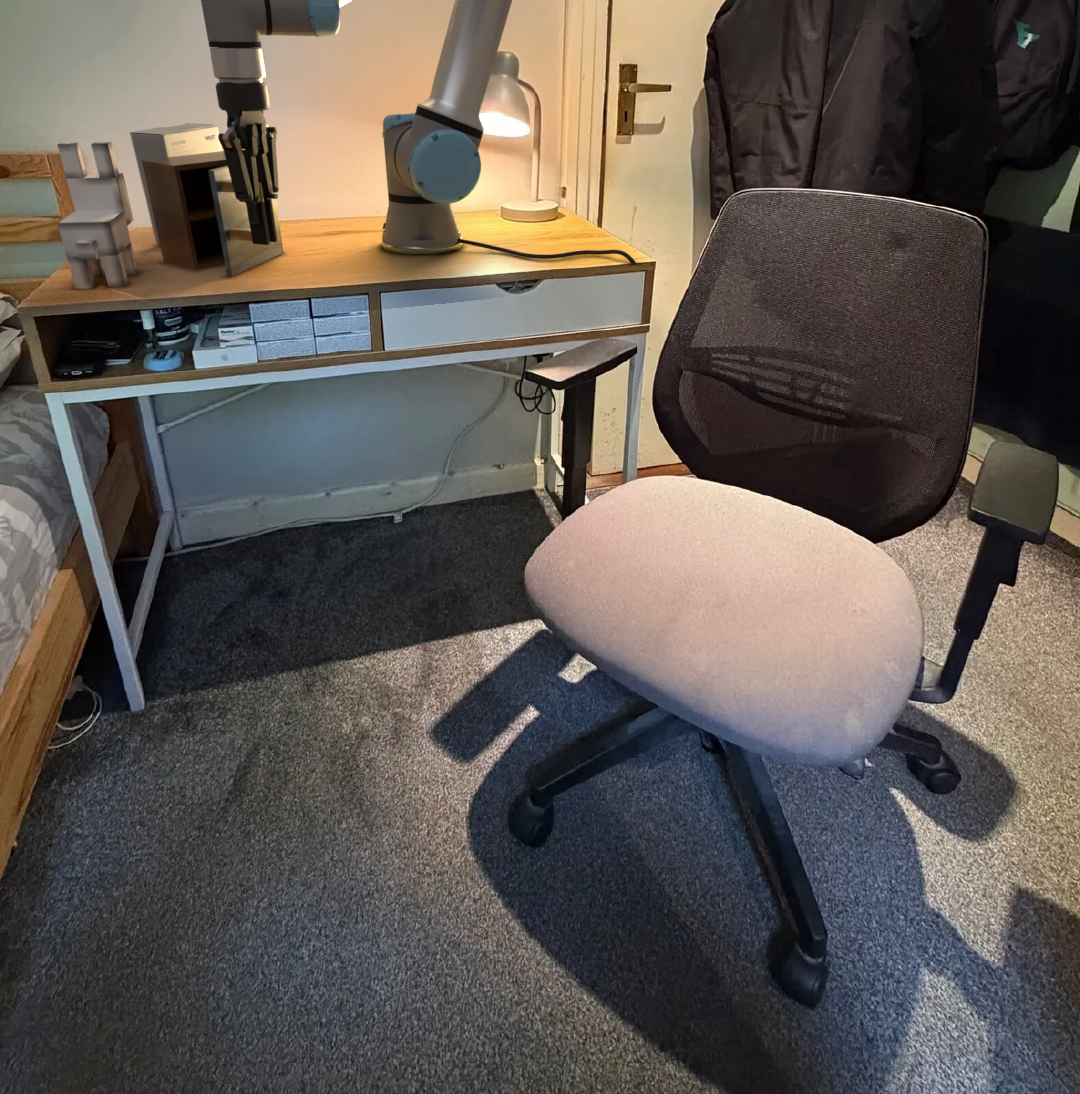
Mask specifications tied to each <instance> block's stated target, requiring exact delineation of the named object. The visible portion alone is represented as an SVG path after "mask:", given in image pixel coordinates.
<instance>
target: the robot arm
mask: <svg viewBox="0 0 1080 1094" xmlns="http://www.w3.org/2000/svg"><path fill="white" fill-rule="evenodd" d="M350 2H352V0H200V3H201V7H202V9H201V10H202V15H203V19H204V25H205V31H206V36H207V41H208V47H209V51H210V60H211V65H212V72H213V76H214V78H215V79H217V80H218V82H216V85H215V91H216V98H217V104H218V108H219V109H220V110H222V111H225V113H226V128H227V129H226V131H225V132H224V133H223V132H222V133H221V132H219V135H218V139H219V141H220V143H221V145H222V151H224V153H225V157H226V161H227V165H228V169H229V173H230V177H231V181H232V184H233V188H234V192H235V196H236V199H238V200H239V201H240V202H245V203H246V207H247V213H248V219H249V223H250V229H251V235H252V241H253V244H260V245H269V244H270V242H277V234H276V228H275V221H274V212H273V205H272V199H276V200H277V199H278V198H279V194H278V193H279V190H280V185H279V173H278V171H279V170H278V157H277V155H278V153H277V137H278V128H277V127H276V126H270V125H269V124H267V123H268V122H267V118H266V116H265V113H264V111H268V110H269V109H270V106H271V105H270V98H269V89H268V85H267V84H266V83H265V82H264V81H263V79H266V77H267V74H266V68H265V67H266V66H265V61H264V53H263V48H262V42H261V36H285V37H286V36H290V37H292V36H293V37H316V38H321V37H331V36H336V35H337V34H338V33H339V31H340V28H341V27H340V25H341V10H340V8H341V7H343V6H346V5H347V4H348V3H350ZM512 2H513V0H454V2H453V7H452V10H451V14H450V17H449V20H448V26H447V29H446V33H445V37H444V41H443V44H442V47H441V51H440V54H439V59H438V62H437V67H436V69H435V70H436V71H435V74H434V77H433V82H432V86H431V88H430V93H429V96H428V97H426V99H424V100H422V101H420V102H418V103H417V106H416V108H415V112H406V113H405V112H404V113H394V114H392V113H391V114H388V115H386V116H385V117H384V118H383V121H382V133H381V135H382V139H383V149H384V161H385V174H386V187H387V197H388V207H387V213H386V217H385V222H384V223H383V225H382V234H381V241H382V242H381V243H382V248H383V249H384V250H386V251H389V252H392V253H395V254H403V255H437V254H444V253H450V252H453V251H456V250H459V249H461V247H462V246H463V245H462V244H464V245H468V246H474V247H479V248H483V249H488V250H492V251H496V252H501V253H506V254H509V255H513V256H518V257H523V258H528V259H535V260H536V259H537V260H551V259H552V260H553V259H561V258H567V257H568V258H569V257H573V256H583V255H597V256H598V255H620V256H622V257H624V258H625V259H627V260H628V261H629V263H631V264H632V265H637V262H636V261H635V259H634V257H632V256H631V255H630V254H629V253H628V252H625V251H624V250H621V249H602V250H601V249H599V250H595V249H587V250H586V249H584V250H583V249H582V250H574V251H568V252H562V253H553V254H552V253H551V254H550V253H549V254H541V253H540V254H537V253H527V252H521V251H516V250H514V249H510V248H505V247H501V246H496V245H493V244H492V245H491V244H487V243H484V242H480V241H479V242H478V241H473V240H468V239H464V238H462V233H461V231H460V229H459V228H458V225H457V221H456V216H455V213H454V210H453V207H452V204H455V203H458V202H460V201H463V200H464V199H465V198H466V197H468V196H469V195H470V194H471V193H472V192H473V191H474V190H475V187H476V186H477V185H478V182H479V179H480V176H481V172H482V161H481V155H480V151H479V149H480V146H481V142H482V138H483V135H484V131H485V128H484V127H483V124H482V122H481V119H480V113H481V109H482V106H483V102H484V99H485V95H486V92H487V88H488V85H489V82H490V79H491V75H492V71H493V68H494V64H495V61H496V58H497V54H498V51H499V47H500V44H501V42H502V41H501V40H502V37H503V34H504V30H505V27H506V23H507V20H508V16H509V12H510V10H511V6H512ZM258 182H261V183H262V190H263V197H264V202H260V195H259V185H258ZM274 193H275V194H274ZM264 203H265V208H264ZM265 210H266V214H265ZM266 216H267V221H266ZM267 223H268V228H267ZM268 230H269V234H268ZM269 236H270V241H269Z"/></svg>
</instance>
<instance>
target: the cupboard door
mask: <svg viewBox="0 0 1080 1094" xmlns="http://www.w3.org/2000/svg"><path fill="white" fill-rule="evenodd" d="M208 172H209V178H210V183H211V189H212V194H213V200H214V205H215V211H216V216H217V222H218V227H219V233H220V238H221V244H222V249H223V255H224V260H225V264H224V265H225V270H226V271H225V272H226V277H234V276H236V275H239V274H240V273H243V272H245V271H248V270H249V269H252V268H254V267H256V266H259V265H260V264H263V263H264V262H267V261H269V260H271V259H274V258H276V257H278V256H280V255H282V254H284V253H285V252H284V247H283V246H284V245H283V237H282V232H281V225H280V218H279V211H278V204H277V199H272V205H273V212H274V221H275V228H276V234H277V242H270V244H269V245H260V244H253V241H252V235H251V229H250V223H249V219H248V213H247V207H246V203H245V202H240V201H239V200H238V199H236V196H235V192H234V188H233V184H232V181H231V177H230V173H229V169H228V166H224V167H220V168H216V169H212V170H208ZM258 185H259V195H260V202H264V197H263V190H262V183H261V182H258ZM274 194H276V193H274ZM264 208H265V203H264ZM265 214H266V210H265ZM266 221H267V216H266ZM267 228H268V223H267ZM268 234H269V230H268ZM269 241H270V236H269Z"/></svg>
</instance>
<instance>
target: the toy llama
mask: <svg viewBox="0 0 1080 1094" xmlns="http://www.w3.org/2000/svg"><path fill="white" fill-rule="evenodd" d="M90 145H91V149H92V153H93V158H94V161H95V165H96V169H97V170H96V171H97V173H87V170H86V166H85V162H84V159H83V155H82V150H81V146H80V143H79V142H78V141H71V142H70V141H69V142H67V141H65V142H63V141H61V142H59V143H57V148H58V152H59V157H60V160H61V164H62V168H63V171H64V174H65V179H66V182H67V186H68V190H69V194H70V197H71V201H72V206H73V209H74V211H73V212H71V214H69V215H67V216H66V217H65V218H63V219H61V220H60V221H59V222H58V223H57V227H58V230H59V235H60V238H61V242H62V245H63V246H62V247H63V249H64V253H65V256H66V261H67V263H68V267H69V271H70V274H71V278H72V282H73V285H74V289H75V290H84V289H85V290H86V289H87V290H89V289H93V288H94V287H95V286H96V285H97V283H96V279H95V277H104V276H105V279H106V283H107V287H108V288H126V286H127V285H128V284H129V279H128V276H136V275H137V273H138V272H139V269H138V266H137V261H136V256H135V253H134V249H133V243H132V240H131V236H130V232H129V227H128V226H129V225H131V223H132V222H134V215H133V210H132V206H131V202H130V198H129V193H128V190H127V185H126V180H125V177H124V173H123V172H119V167H118V164H117V159H116V154H115V151H114V145H113V142H112V141H95V142H92V143H91V144H90Z"/></svg>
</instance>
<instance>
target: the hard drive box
mask: <svg viewBox="0 0 1080 1094" xmlns="http://www.w3.org/2000/svg"><path fill="white" fill-rule="evenodd" d="M219 133H220V129H219V125H218V124H212V123H210V124H209V123H195V122H185V123H178V124H177V123H176V124H171V125H164V126H159V127H153V128H146V129H142V130H141V129H140V130H136V131H130V132H129V136H130V140H131V144H132V148H133V152H134V156H135V161H136V164H137V169H138V173H139V178H140V181H141V186H142V189H143V194H144V198H145V203H146V206H147V211H148V215H149V219H150V223H151V227H152V232H153V236H154V240H155V244H156V246H159V247H160V242H159V238H158V233H157V229H156V224H155V220H154V215H153V210H152V206H151V201H150V197H149V192H148V188H147V183H146V179H145V174H144V169H143V165H142V160H148V159H157V158H166V157H175V156H184V155H193V154H202V153H210V152H219V151H223V147H222V145H221V143H220V141H219V139H218V135H219Z"/></svg>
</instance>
